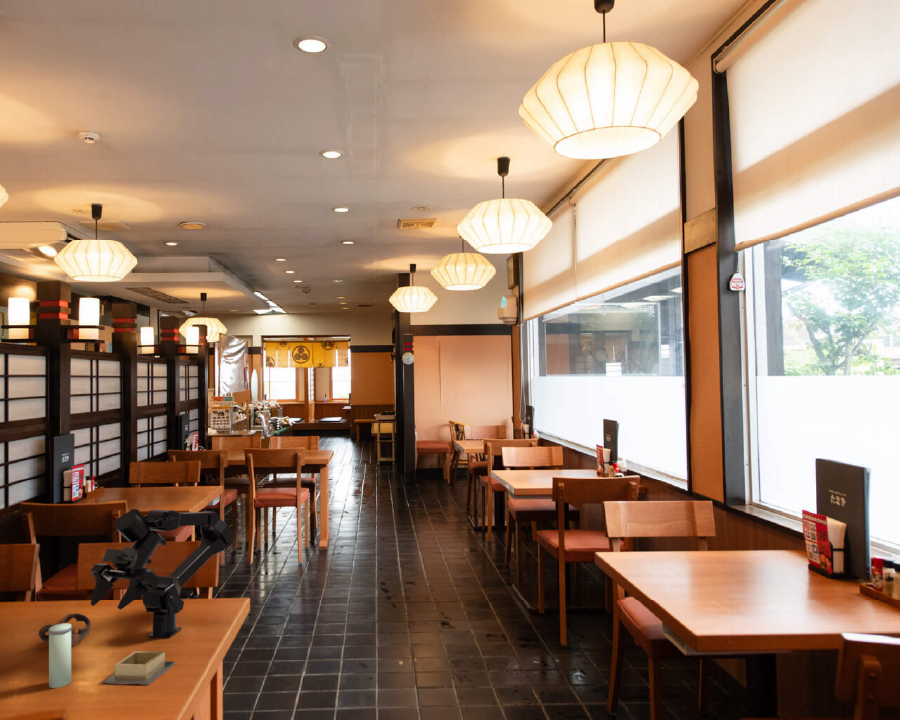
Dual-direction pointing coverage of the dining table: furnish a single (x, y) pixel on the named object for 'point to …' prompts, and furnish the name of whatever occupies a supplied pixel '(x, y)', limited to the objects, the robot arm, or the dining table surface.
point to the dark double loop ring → (75, 636)
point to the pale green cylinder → (60, 655)
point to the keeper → (140, 668)
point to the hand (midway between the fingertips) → (105, 606)
